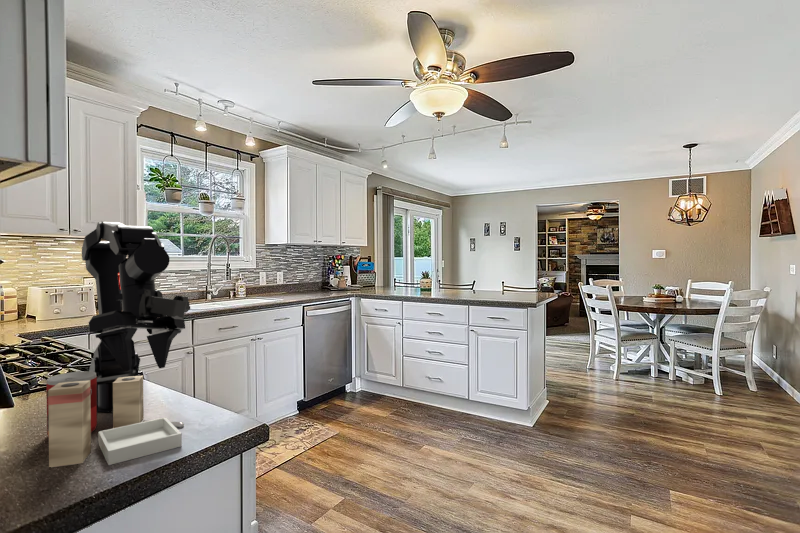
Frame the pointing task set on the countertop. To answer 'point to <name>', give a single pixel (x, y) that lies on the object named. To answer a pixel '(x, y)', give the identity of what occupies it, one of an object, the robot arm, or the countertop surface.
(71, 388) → the block
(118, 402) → the block
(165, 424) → the tray
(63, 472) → the countertop surface
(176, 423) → the pin gauge
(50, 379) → the canned food
